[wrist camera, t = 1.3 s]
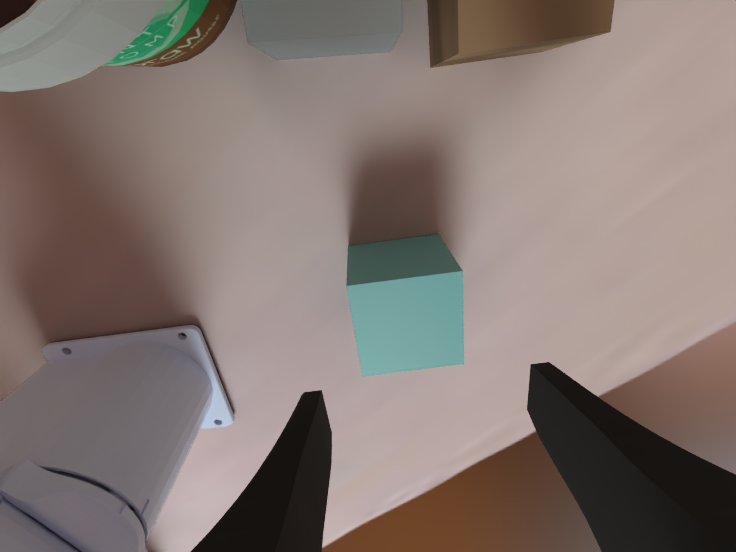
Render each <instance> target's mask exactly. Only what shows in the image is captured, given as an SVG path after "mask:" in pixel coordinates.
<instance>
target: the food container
mask: <svg viewBox="0 0 736 552" xmlns="http://www.w3.org/2000/svg"><path fill="white" fill-rule="evenodd" d="M236 2H237V0H0V91H4V92H17V91H25V90H34V89H42V88H50V87H53V86H56V85H59V84H62V83H65V82H68V81H71V80H74V79H77V78H80V77H83V76H85V75H87V74H88V73H90V72H92V71H93V70H95V69H97V68H99V67H100V66H154V67H163V66H167V65H171V64H175V63H179V62H183V61H187V60H189V59H191V58H192V57H194V56H196V55H198V54H200V53H202V52H203V51H204V50H205V49H206V48H207V47H209V46H210V45H211V44H212V43H213V42H214V41H215V40H216V39H217V37H218V36H219V35H220V33H221V32H222V31H223V30H224V28H225V26H226V25H227V23H228V21H229V19H230V17H231V15H232V13H233V11H234V8H235V5H236Z"/></svg>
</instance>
